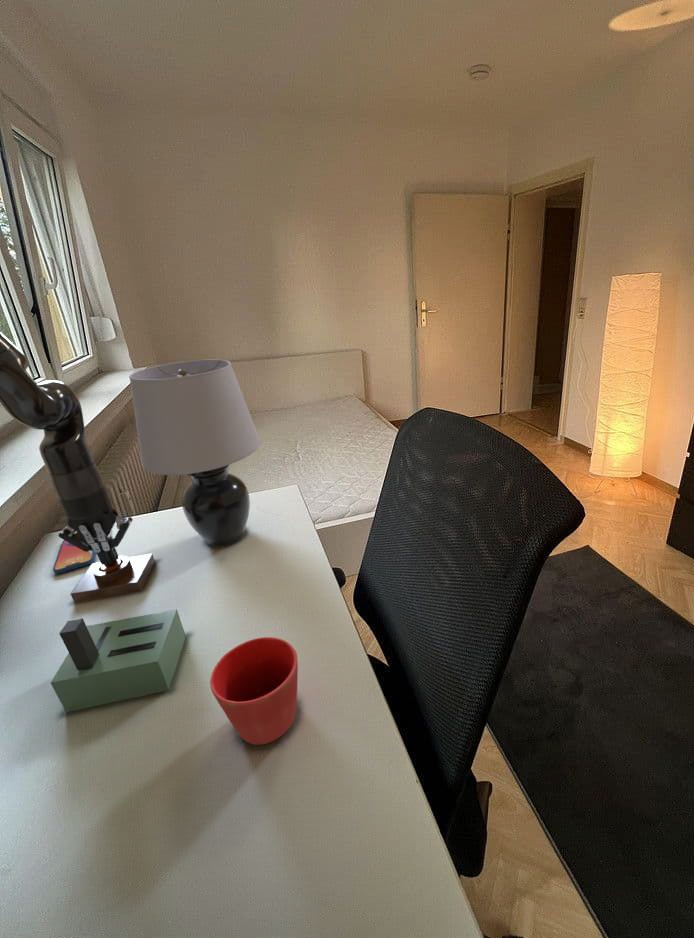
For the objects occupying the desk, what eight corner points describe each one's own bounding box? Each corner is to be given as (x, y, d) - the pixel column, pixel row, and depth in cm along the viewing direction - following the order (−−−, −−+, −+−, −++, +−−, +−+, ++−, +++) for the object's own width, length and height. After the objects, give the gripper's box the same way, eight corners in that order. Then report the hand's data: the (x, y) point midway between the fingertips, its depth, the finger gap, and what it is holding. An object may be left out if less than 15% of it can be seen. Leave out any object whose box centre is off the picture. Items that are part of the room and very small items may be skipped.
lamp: (178, 522, 112) (129, 365, 96) (274, 503, 119) (244, 352, 103) (162, 578, 91) (96, 390, 75) (280, 551, 98) (243, 372, 82)
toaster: (66, 712, 64) (49, 682, 61) (97, 653, 74) (84, 625, 71) (169, 690, 66) (157, 660, 64) (186, 636, 76) (176, 608, 74)
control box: (74, 602, 86) (66, 586, 84) (95, 571, 95) (89, 556, 93) (140, 591, 88) (134, 574, 86) (155, 561, 97) (150, 546, 95)
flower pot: (261, 675, 68) (248, 627, 64) (322, 697, 64) (312, 647, 60) (209, 739, 59) (190, 688, 55) (276, 769, 55) (261, 716, 51)
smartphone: (100, 533, 110) (98, 529, 109) (94, 563, 97) (92, 559, 97) (64, 543, 107) (62, 539, 106) (53, 575, 94) (51, 571, 94)
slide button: (77, 670, 63) (59, 633, 60) (84, 657, 65) (67, 621, 62) (92, 667, 63) (75, 630, 61) (99, 654, 66) (82, 618, 63)
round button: (100, 578, 89) (97, 571, 88) (107, 567, 92) (104, 560, 91) (119, 575, 89) (116, 568, 89) (126, 564, 92) (123, 557, 92)
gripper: (125, 475, 87) (151, 547, 94) (51, 485, 85) (83, 559, 92) (111, 492, 81) (140, 569, 88) (30, 503, 78) (66, 581, 85)
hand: (111, 563), depth 90 cm, fingers closed
